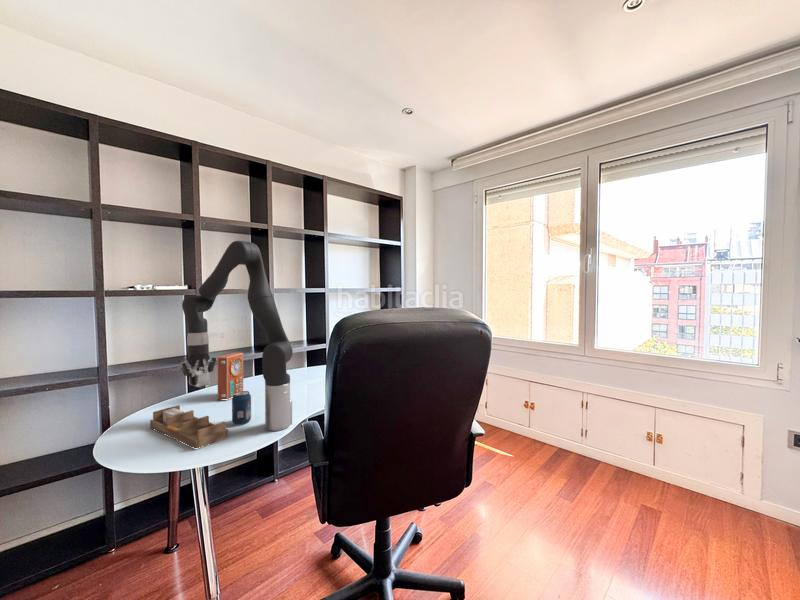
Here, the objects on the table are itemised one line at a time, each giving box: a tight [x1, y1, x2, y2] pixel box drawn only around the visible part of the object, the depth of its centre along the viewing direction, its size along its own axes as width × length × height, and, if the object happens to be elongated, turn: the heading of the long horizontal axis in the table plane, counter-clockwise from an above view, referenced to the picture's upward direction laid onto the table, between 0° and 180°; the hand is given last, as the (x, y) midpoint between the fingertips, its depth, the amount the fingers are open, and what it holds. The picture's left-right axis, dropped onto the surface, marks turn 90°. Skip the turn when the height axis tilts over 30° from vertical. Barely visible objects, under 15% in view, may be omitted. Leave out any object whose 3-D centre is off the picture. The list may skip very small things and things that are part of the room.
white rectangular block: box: [188, 370, 210, 388], centre depth 135 cm, size 4×8×5 cm, turn 57°
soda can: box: [231, 390, 252, 426], centre depth 131 cm, size 7×7×12 cm
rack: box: [149, 405, 229, 448], centre depth 121 cm, size 11×34×6 cm, turn 59°
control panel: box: [216, 352, 244, 400], centre depth 164 cm, size 21×7×15 cm
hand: (199, 383), depth 135 cm, fingers closed on white rectangular block, 4 cm apart
